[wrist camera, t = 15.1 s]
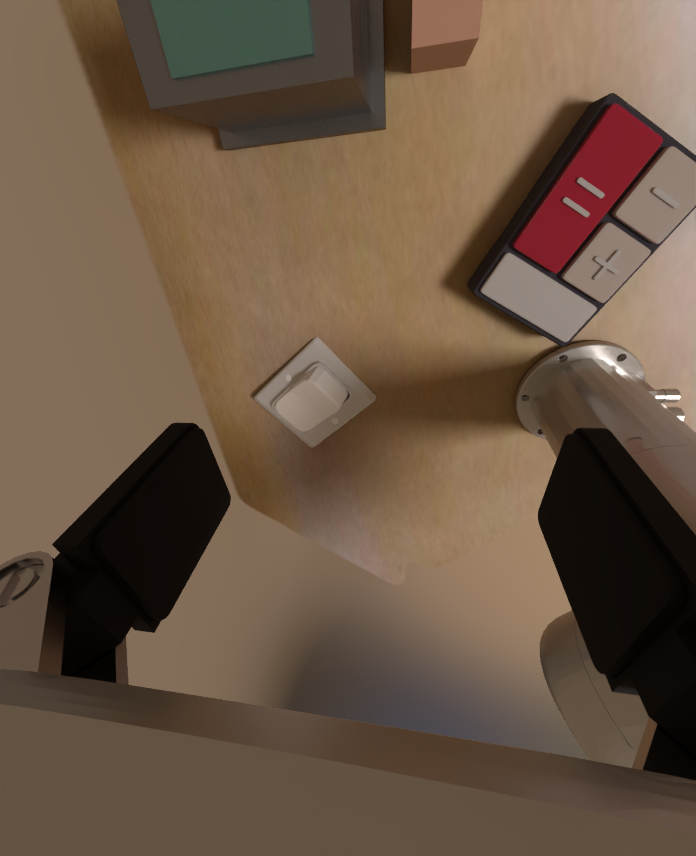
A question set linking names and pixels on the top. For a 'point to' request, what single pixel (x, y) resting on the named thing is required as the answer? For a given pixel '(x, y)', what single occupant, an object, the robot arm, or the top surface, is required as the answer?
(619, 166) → the calculator
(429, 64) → the terracotta block
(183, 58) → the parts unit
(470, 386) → the top surface
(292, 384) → the light switch
